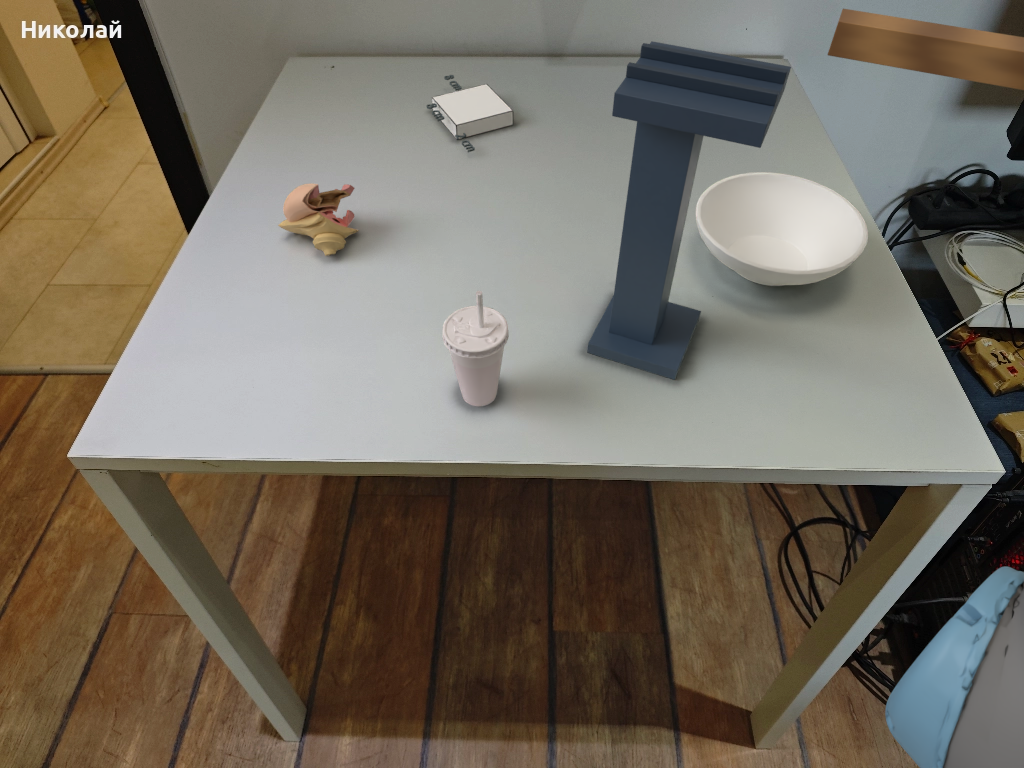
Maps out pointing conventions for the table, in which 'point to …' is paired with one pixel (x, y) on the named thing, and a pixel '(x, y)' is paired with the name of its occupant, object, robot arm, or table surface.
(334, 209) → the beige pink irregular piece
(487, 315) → the smoothie
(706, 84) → the lectern stand
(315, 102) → the table surface
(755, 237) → the bowl
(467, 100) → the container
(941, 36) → the stirring stick
